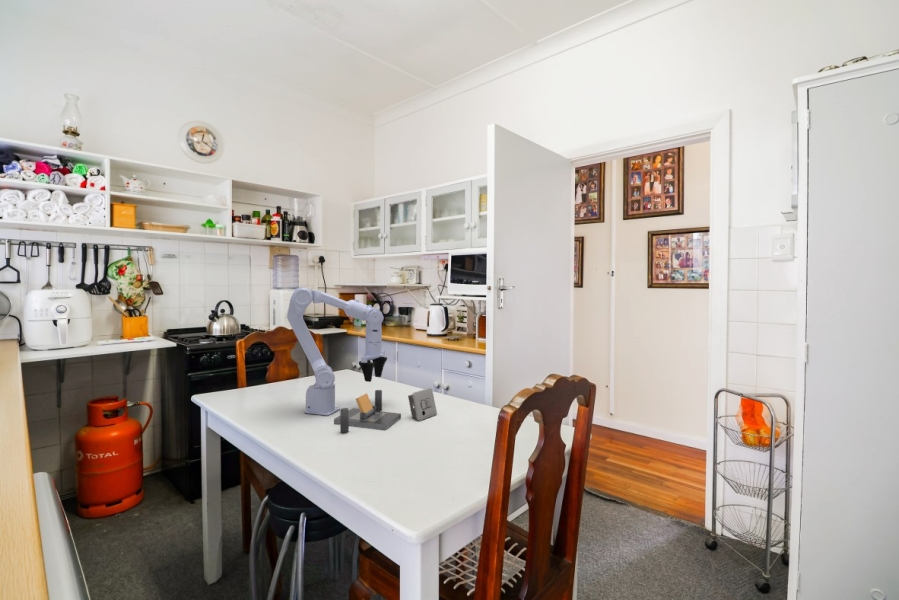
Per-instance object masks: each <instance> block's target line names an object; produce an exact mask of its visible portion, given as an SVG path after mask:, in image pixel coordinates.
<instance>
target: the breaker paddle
mask: <svg viewBox="0 0 899 600" xmlns="http://www.w3.org/2000/svg"><path fill="white" fill-rule="evenodd" d="M355 400H356V404H357V406H358V409H360V411H361V412H364V413H366V417H368V416H369V415H371V414H372V413H374V412H375V409H374V408H373V407H372V406H373V404H372V402H371V399H370V398H369V395H368V393H367V392H366V393H364V394H362V395H360V396H358V397H357V398H355Z"/></svg>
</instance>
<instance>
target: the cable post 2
mask: <svg viewBox="0 0 899 600" xmlns="http://www.w3.org/2000/svg"><path fill="white" fill-rule="evenodd" d="M374 406H376V411H382V410H383V390H382V389H375V391H374ZM382 412H383V411H382Z"/></svg>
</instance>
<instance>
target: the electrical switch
mask: <svg viewBox="0 0 899 600" xmlns="http://www.w3.org/2000/svg"><path fill="white" fill-rule="evenodd" d="M407 399H408V402H409V403H408V404H409V408H410V412H411V414H410V415H411V419H413V420H414V419H416V420H417V422H420V421H423V420H426V419H428V418H431V417H434V416H436V415H437V414H438V412H437V406H436V401H435V397H434V391H433V388H431V387H428V388H425V389H422V390H421V389H420V390H418V391H414V392H412V394H410V395H408V397H407Z"/></svg>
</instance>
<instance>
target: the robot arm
mask: <svg viewBox="0 0 899 600" xmlns="http://www.w3.org/2000/svg"><path fill="white" fill-rule="evenodd" d="M311 303H313V304H314V305H315V304H320V303H323V304H326V305H329V306H332V307H334V308H338V309H340V310H343V312H344V313H345V315H346V316H348V317H351V318H354V319H357V320H360V321H362V322H363V321H365V342H364V343H365V349H364V352H365V353H364V354H363V356H360V360H359V362H358V366H360V367H359V368H361V371H362V374H363V377H364V382H367V383H371V382H372V379H373V371H374V376H375V378H381V377H382V374H383V371H384V367H385V364H386V363H387V360H388V357H387V356H385V355H386V351H385V350H382V349H383V348H382V346H383V345H382V343H383V342H382V340H383V336H382V335H383V333H382V332H383V331H382V330H383V329H382V325H383V324H382V322H383V321H384V319H385V318H384V315H383V312H382V311H381V310H380V309H377V308H376V307H373V306H372V304H368V305H367V304H365V303H362V302H360V300H359V299H350V300H348V301H346V300H344V299H341V298H339V297H337V296H333V295H332V294H329V293H327V292H323V291H322V290H318V289H317V290H316V289H312V288H310V289H309V288H308V287H306V286H301V287H300V286H299V287H297V288H295V290H294V291H293V293H292V295H291V296H290V299H289V303H288V310H287V313H286V315H287V316H286V318H287V321H288V322H289V326H291V328H292V331H293V333H294V335H295V337H296V339H297V341H298V343H299V345H300V346H301V348H302V350H303V352H304V354H305V356H306V358H307V360H308V362H309V364H310V365H311V368H312V370H313V373H314V377H315V382H314V384H311V385H309V386H308V387H307V389H306V392H305V410H304V412H303V413H305V414H313V415H320V416H321V415H322V416H330V415H332V414H333V413H336V412H338V411H339V410H340V409H341V407H336V383H335V380H336V377H335V374H334V373H335V372H334V370H333V368H332V367H331V366H329V365H328V364H327V363H326V361H325V359H324V357H323V356H322V354H321V352H320V349H319V347H318V346H317V344H316V342H315V339H314V338H313V336H312V334H311V332H310V330H309V328H308V326H307V324H306V322H305V320H304V318H303V316H304V314H305V312H306V309H307V308H308V307H309V306H310V305H311Z"/></svg>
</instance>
